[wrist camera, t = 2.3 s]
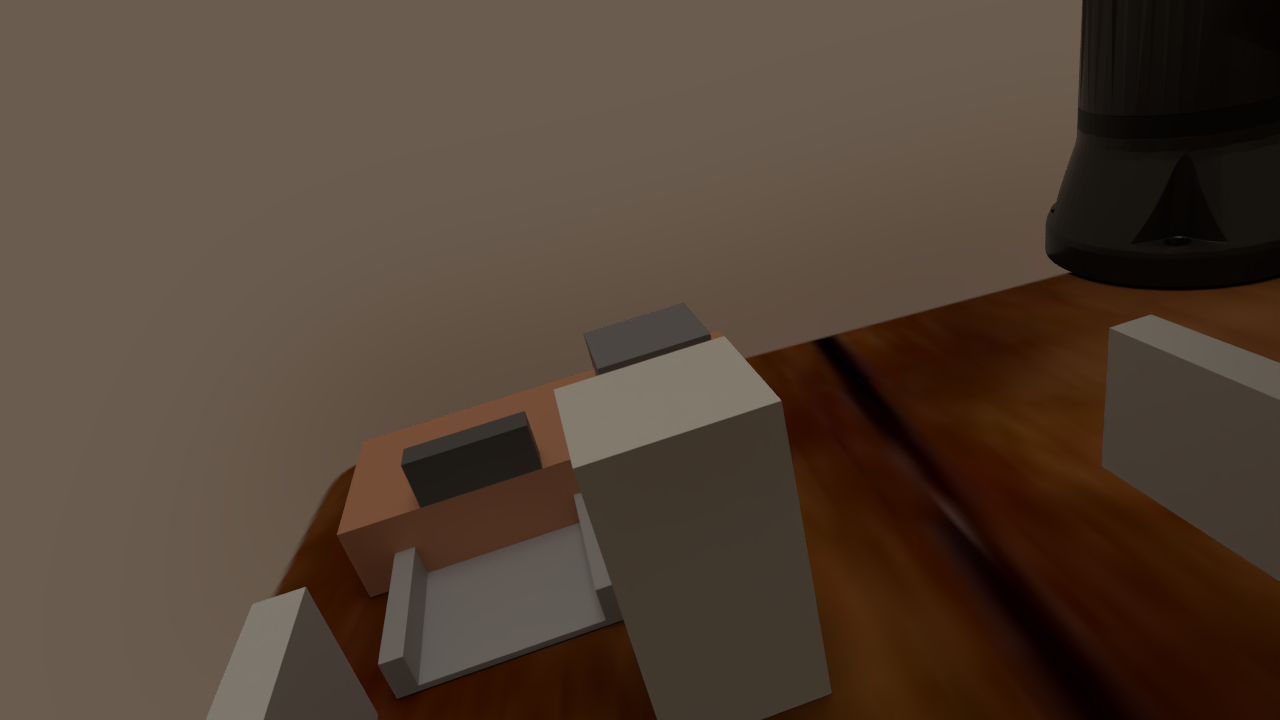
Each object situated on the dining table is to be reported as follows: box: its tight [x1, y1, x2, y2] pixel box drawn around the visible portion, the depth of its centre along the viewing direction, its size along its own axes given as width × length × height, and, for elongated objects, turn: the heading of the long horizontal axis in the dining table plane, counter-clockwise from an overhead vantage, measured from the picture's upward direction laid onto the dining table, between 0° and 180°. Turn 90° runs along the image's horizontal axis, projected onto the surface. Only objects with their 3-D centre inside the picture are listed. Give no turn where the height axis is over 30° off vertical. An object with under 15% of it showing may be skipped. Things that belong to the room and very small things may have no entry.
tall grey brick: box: [554, 336, 832, 720], centre depth 24 cm, size 6×5×12 cm
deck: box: [337, 303, 723, 699], centre depth 36 cm, size 22×16×7 cm
